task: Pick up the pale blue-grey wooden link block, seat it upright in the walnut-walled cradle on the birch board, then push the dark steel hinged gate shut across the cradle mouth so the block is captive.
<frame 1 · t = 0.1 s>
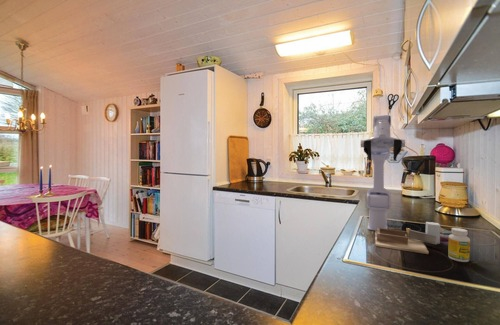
hand: (382, 158, 88), 32 cm above the countertop, tool tilted 50°, fingers open, 7 cm apart
gate: (420, 235, 95), point 3 cm above the countertop, hinge at 60.0°
supplement bottle: (458, 259, 81), on the countertop
link block: (432, 241, 98), on the countertop
cradle board: (398, 242, 96), on the countertop
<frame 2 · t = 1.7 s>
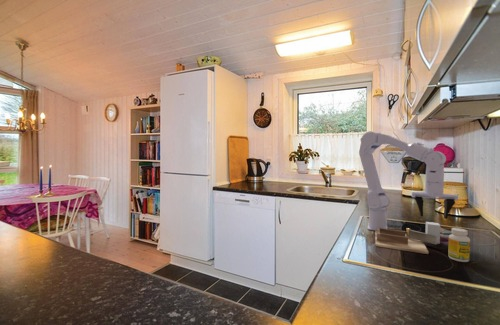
hand: (433, 217, 98), 9 cm above the countertop, tool pointing down, fingers open, 7 cm apart
nothing on the countertop moved.
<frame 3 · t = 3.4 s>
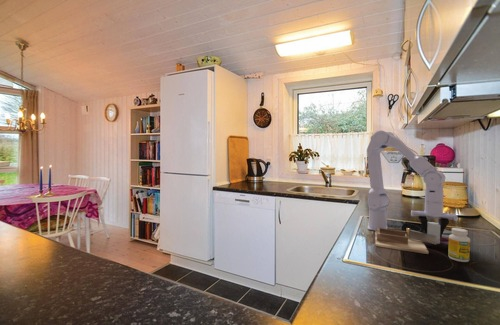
hand: (432, 236, 98), 2 cm above the countertop, tool pointing down, fingers closed on link block, 4 cm apart
link block: (432, 241, 98), on the countertop, touching gripper
everything else where it was.
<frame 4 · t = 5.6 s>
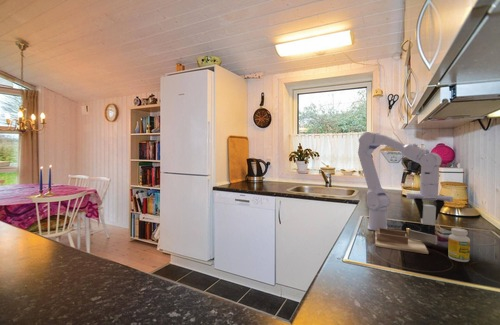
hand: (427, 218, 98), 9 cm above the countertop, tool pointing down, fingers closed on link block, 4 cm apart
link block: (427, 223, 98), point 7 cm above the countertop, touching gripper
everything else where it was.
when the fingers open (4 cm above the countertop, at t = 8.2 s): link block drops 1 cm, resting on cradle board.
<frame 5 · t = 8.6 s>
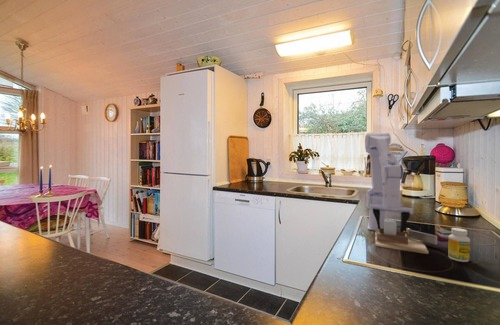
hand: (390, 230, 97), 4 cm above the countertop, tool pointing down, fingers open, 7 cm apart
link block: (389, 238, 97), point 1 cm above the countertop, touching cradle board
everything else where it was.
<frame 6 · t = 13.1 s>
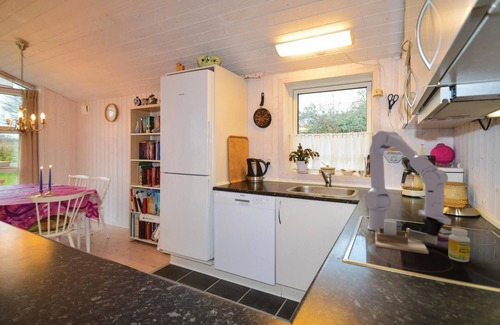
hand: (432, 238, 94), 2 cm above the countertop, tool pointing down, fingers closed
gate: (420, 235, 95), point 3 cm above the countertop, hinge at 59.8°, touching gripper
everything else where it was.
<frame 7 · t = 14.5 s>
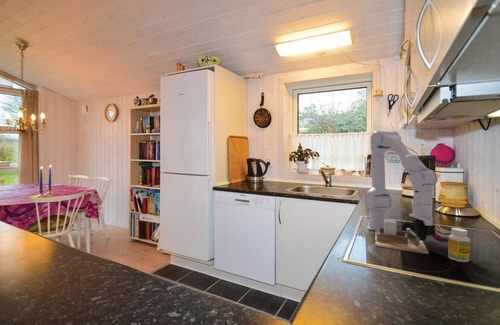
hand: (421, 240, 91), 2 cm above the countertop, tool pointing down, fingers closed, pressing on gate
gate: (412, 236, 94), point 3 cm above the countertop, hinge at 11.2°, touching gripper
everything else where it was.
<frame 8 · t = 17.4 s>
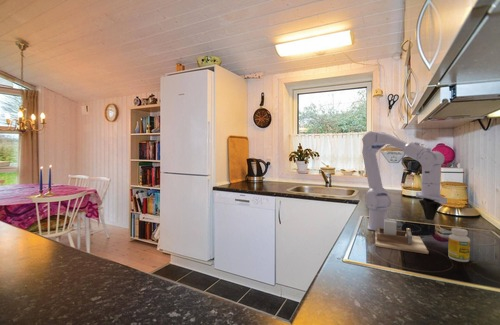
hand: (429, 219, 94), 9 cm above the countertop, tool pointing down, fingers closed
gate: (409, 235, 95), point 3 cm above the countertop, hinge at -3.1°, touching cradle board
everything else where it was.
at the end: link block inside the target area (1.0 cm from its centre), point 0.8 cm above the countertop; gate at -3° (first picture: +60°); link block tilted 0° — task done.
